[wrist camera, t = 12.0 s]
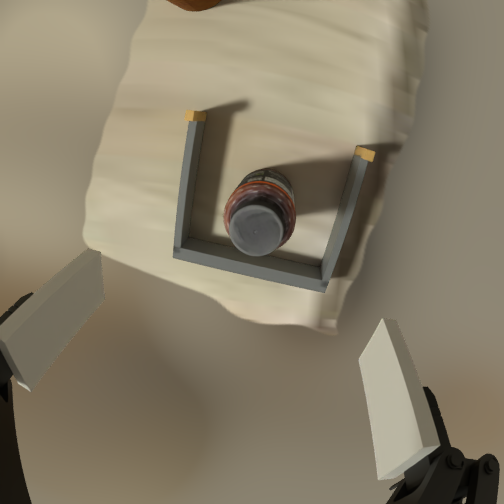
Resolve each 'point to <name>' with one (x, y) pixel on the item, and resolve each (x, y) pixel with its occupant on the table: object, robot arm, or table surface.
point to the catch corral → (265, 264)
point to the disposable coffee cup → (195, 4)
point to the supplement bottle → (260, 213)
